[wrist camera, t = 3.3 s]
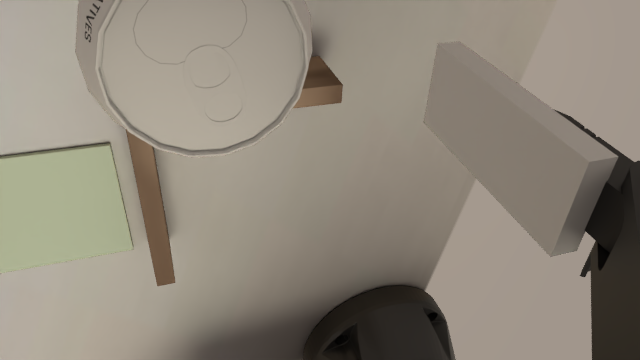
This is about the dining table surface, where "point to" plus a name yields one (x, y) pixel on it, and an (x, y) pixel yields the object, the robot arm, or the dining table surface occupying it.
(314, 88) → the channel walls
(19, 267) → the pad
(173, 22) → the supplement can
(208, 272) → the dining table surface
